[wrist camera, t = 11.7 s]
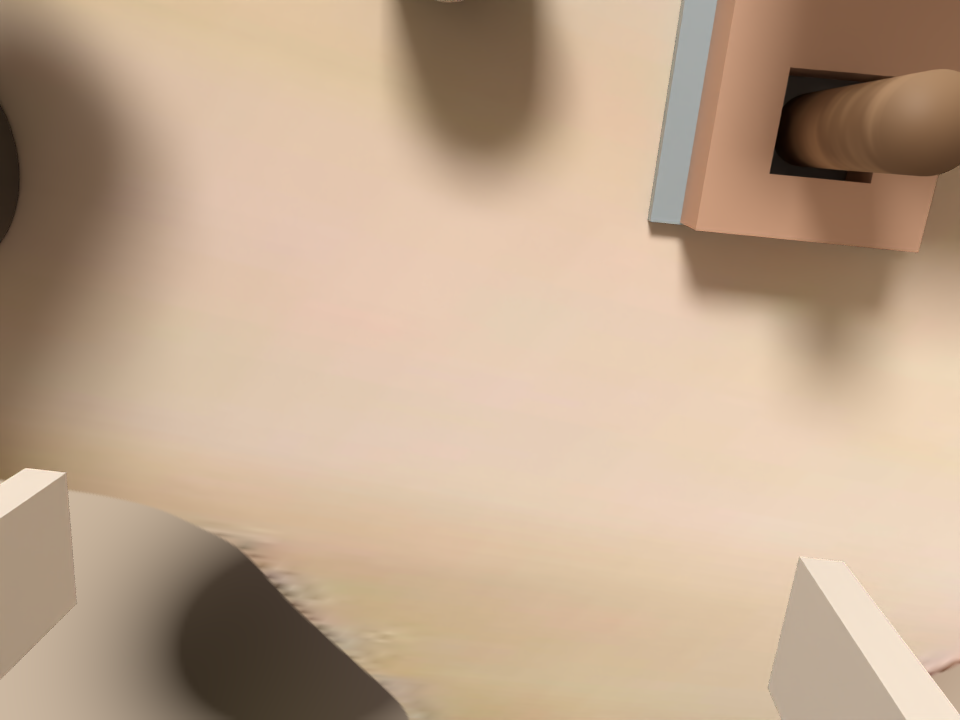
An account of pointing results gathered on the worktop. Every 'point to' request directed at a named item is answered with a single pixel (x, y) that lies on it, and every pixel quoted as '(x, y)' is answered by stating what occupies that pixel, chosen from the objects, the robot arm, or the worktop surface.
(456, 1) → the cup
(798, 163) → the peg
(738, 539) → the worktop surface
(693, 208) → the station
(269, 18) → the worktop surface
